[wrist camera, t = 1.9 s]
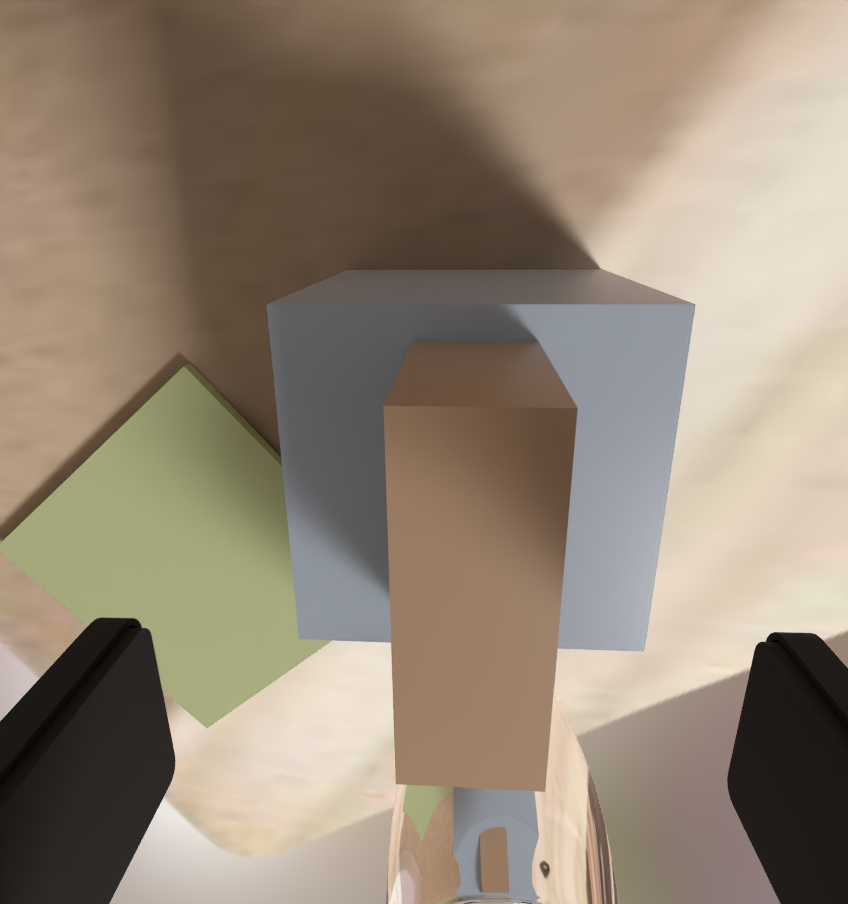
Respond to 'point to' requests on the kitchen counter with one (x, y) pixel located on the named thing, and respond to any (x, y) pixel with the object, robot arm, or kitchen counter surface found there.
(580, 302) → the cover
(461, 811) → the beer glass
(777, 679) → the robot arm
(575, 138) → the kitchen counter surface
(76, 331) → the kitchen counter surface
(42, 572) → the mat
